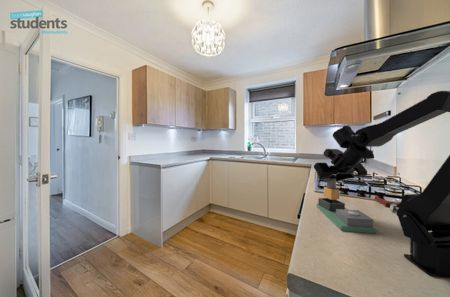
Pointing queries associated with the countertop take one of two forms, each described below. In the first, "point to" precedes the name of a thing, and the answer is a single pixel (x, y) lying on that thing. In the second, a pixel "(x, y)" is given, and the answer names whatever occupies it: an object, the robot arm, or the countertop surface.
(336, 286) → the countertop surface
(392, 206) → the pliers
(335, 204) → the frame
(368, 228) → the board
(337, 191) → the plug
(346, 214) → the grey button box
